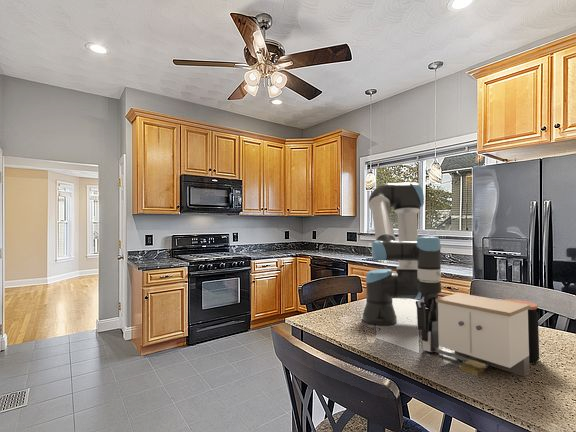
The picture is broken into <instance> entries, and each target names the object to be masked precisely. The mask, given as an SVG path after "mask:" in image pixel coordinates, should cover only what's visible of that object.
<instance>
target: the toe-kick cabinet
mask: <svg viewBox="0 0 576 432" xmlns="http://www.w3.org/2000/svg"><path fill="white" fill-rule="evenodd" d="M440 297H441V298H437V299H435V300H436V302H438V335H439V347H440V348H443V349H444V348H445V349H446V350H450V351H453V352H455V353H458V354H461V355H465V356H468V357H471V358H474V359H478V360H481V361H484V362H487V363H488V366H491V367H494V368H495V369H500V370H502V371H505V372H506V371H507V372H509V373H512V374H515V375H518V376H522V377H526V376H527V375H528V374H530V364H529V335H528V309H530V305H528V304H522V303H516V302H510V301H504V299H497V298H491V297H484V296H480V295H479V296H478V295H472V294H466V293H460V292H458V293H453V294H450V295H446V296H440Z"/></svg>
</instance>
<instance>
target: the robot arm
mask: <svg viewBox="0 0 576 432" xmlns="http://www.w3.org/2000/svg"><path fill="white" fill-rule="evenodd" d="M424 203H425V195H424V191H423V187H422V186H421V184H419V182H387V183H386V182H385V183H383V184H380V185H378V186H377V187H375V189H373V191H371V193H370V195H369V198H368V208H369V209H370V211H371V212H372V213H371V214H372V215H371V216H372V219H373V220H372V221H373V228H374V235H375V236H374V238H375V240H373V241H372V242H371V258H372V259H373V260H376V261H399V265H398V266H397V267H396V269H395V271H396V272H393V270H392V269H391V268H379V269H378V268H377V269H372V270H369V271H368V272H367V273H366V276H365V278H366V279H365V284H366V285H365V286H366V287H365V289H366V293H365V295H366V296H365V297H366V298H365V299H366V301H365V302H366V303H365V307H364V309H363V313H362V321H363V322H365V323H368V324H370V323H371V325H375V324H376V325H377V326H391V325H395V324H396V323H397V319H398V318H397V315H396V311H395V307H394V305H393V304H394V303H393V299H405V300H406V299H407V300H416V301H415V305H416V321H417V330H418V331H422V338H421V349H422V351H423V350H424V351H427V352H430V351H431V332H430V331H429V326H430V319H434V320H438V302H436V300H435V299H437V298H441V297H442V296H439V294H441V293H442V283H441V280H442V276H441V275H442V272H441V270H442V269H441V261H442V260H441V257H442V256H441V249H442V246H441V240H440V238H439V237H438V236H419V231H418V229H419V228H418V213H419V212H420V211H421V208H422V207H424ZM390 208H393V211H394V213H395V214H396V215H397V230H398V232H397V234H398V240H396V235H395V231H394V227H393V220H392V216H391V212H390ZM430 353H431V352H430Z"/></svg>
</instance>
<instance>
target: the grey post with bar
mask: <svg viewBox="0 0 576 432" xmlns="http://www.w3.org/2000/svg"><path fill="white" fill-rule="evenodd" d="M420 331H421V330H420ZM429 331H430V332H431V351H430V353H434V352H435V353H438V354H440V355H444V356H447V357H450V358H453V359H456V360H459V361H462V362H466V361H469V362H472V363H475V364H479V365H482V366H485V369H487V368H489V365H488V363H487V362H484V361H481V360H478V359H474V358H471V357H468V356H465V355H461V354H458V353H455V351H453V350H450V349H446V348H445V349H444V348H443V347H440V346H439V335H438V320H434V319H430V326H429ZM421 339H422V331H421Z"/></svg>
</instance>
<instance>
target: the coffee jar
mask: <svg viewBox="0 0 576 432" xmlns="http://www.w3.org/2000/svg"><path fill="white" fill-rule="evenodd" d="M503 300H504V301H510V302H516V303H522V304H528V305H530V309H528V335H529V365H532V364H536V363H538V361H539V359H540V340H539V339H540V338H539V335H540V334H539V313H538V311H537V309H538V308H539V307H538V306H539V305H538V304H537V303H534V302H531V301H526V300H521V299H520V300H519V299H508V298H507V299H505V298H504V299H503Z"/></svg>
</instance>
